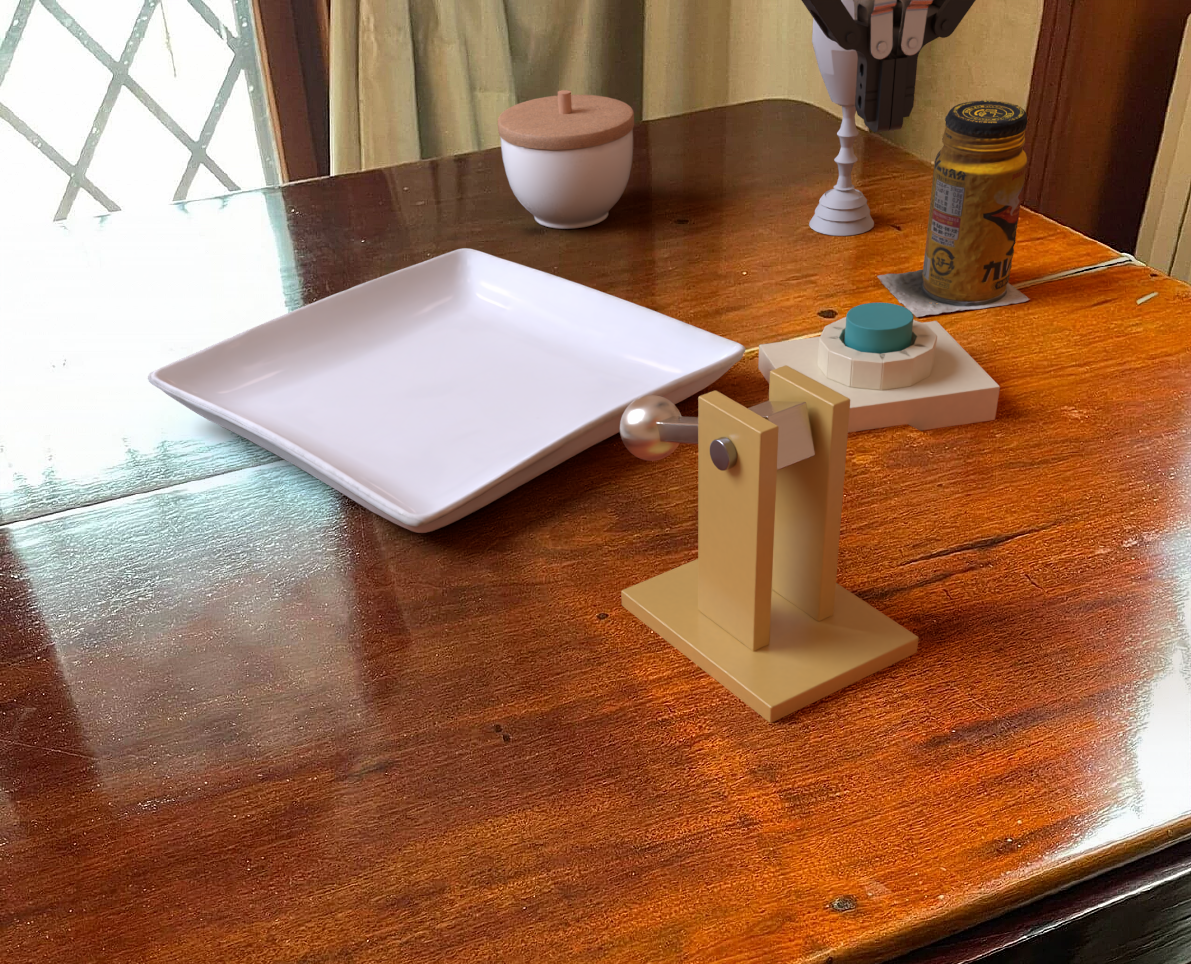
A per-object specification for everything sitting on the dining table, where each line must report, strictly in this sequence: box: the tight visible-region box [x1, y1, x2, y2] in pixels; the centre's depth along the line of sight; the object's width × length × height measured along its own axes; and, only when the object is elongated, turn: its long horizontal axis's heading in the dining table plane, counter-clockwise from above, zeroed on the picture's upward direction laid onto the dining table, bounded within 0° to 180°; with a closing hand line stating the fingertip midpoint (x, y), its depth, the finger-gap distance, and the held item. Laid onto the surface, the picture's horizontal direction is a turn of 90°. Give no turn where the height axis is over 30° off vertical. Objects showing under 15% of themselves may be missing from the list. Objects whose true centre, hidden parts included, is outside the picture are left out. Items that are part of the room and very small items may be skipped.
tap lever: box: [619, 395, 815, 470], centre depth 67 cm, size 13×3×3 cm, turn 34°
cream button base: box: [757, 316, 1001, 433], centre depth 87 cm, size 12×10×4 cm
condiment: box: [876, 100, 1031, 318], centre depth 96 cm, size 7×8×12 cm
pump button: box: [845, 302, 915, 354], centre depth 85 cm, size 4×4×2 cm
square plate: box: [147, 247, 747, 534], centre depth 88 cm, size 27×27×4 cm
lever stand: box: [620, 365, 919, 724], centre depth 65 cm, size 12×9×13 cm
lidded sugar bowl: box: [497, 89, 635, 230], centre depth 112 cm, size 11×11×9 cm
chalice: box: [808, 0, 875, 237], centre depth 105 cm, size 7×7×18 cm
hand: (881, 127), depth 77 cm, fingers closed
